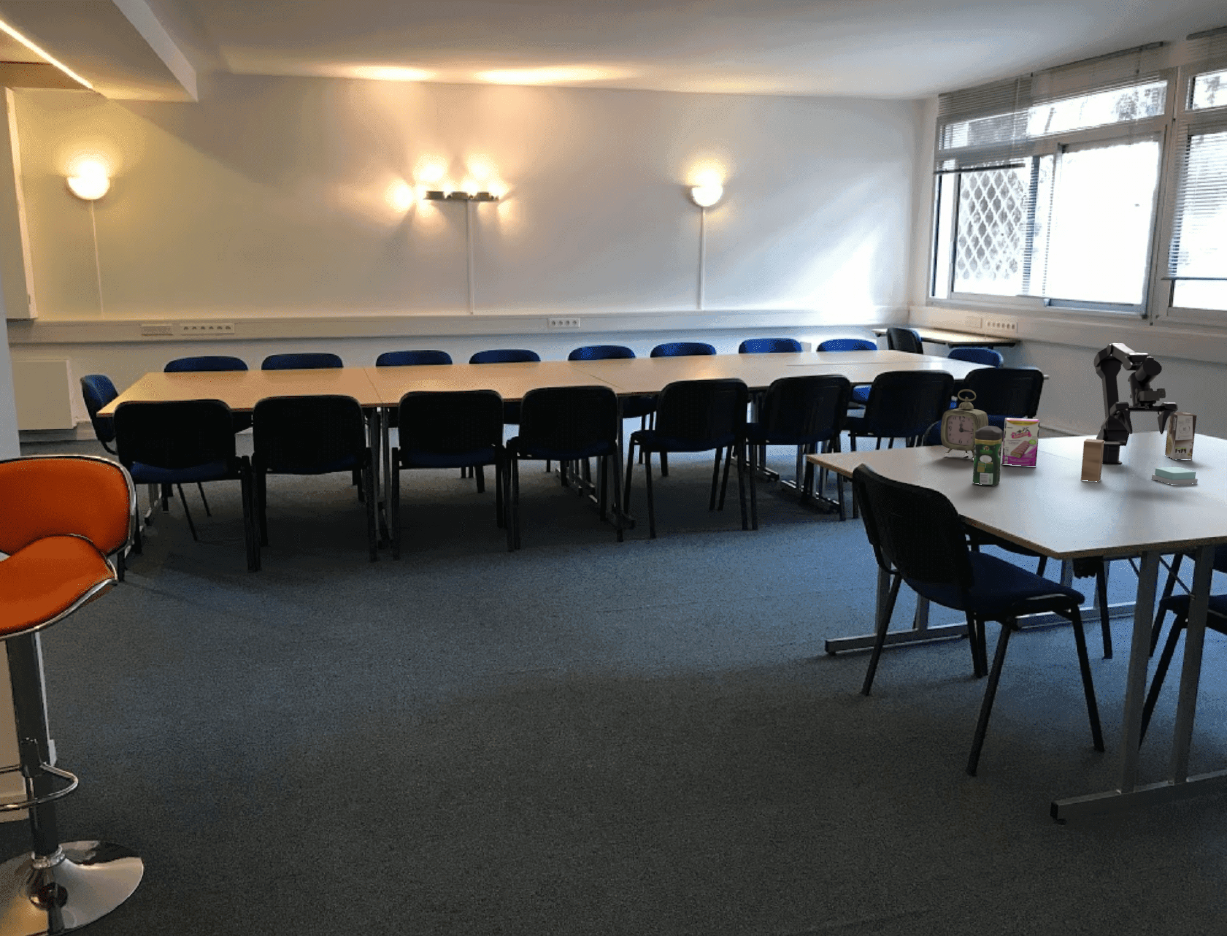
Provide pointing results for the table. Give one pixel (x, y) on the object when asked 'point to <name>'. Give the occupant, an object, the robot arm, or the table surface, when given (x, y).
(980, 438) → the coffee jar
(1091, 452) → the walnut pillar
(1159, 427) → the robot arm
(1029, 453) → the candy bar box
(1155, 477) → the tower base block
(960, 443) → the tabletop clock
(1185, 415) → the coffee box
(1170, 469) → the tower top block
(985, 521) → the table surface
